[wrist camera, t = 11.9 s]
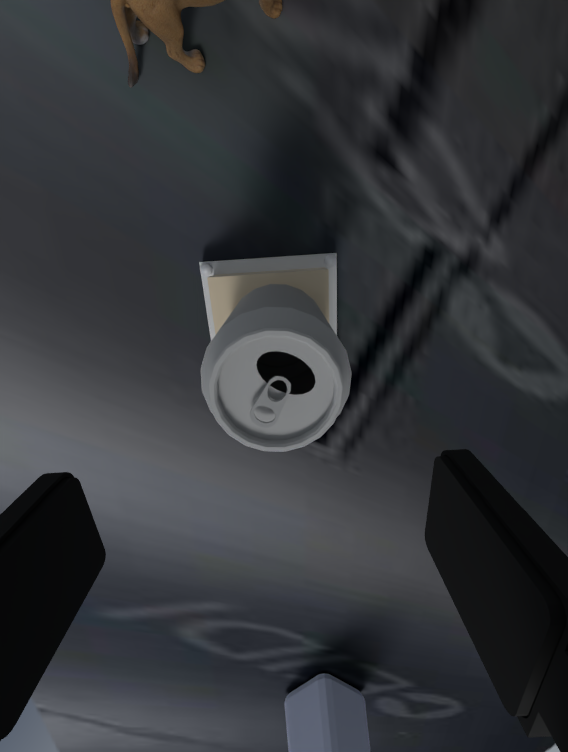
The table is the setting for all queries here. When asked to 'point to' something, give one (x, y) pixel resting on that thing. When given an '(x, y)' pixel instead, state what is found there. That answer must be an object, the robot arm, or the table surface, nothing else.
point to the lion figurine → (165, 28)
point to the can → (276, 371)
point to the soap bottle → (326, 717)
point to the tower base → (274, 265)
